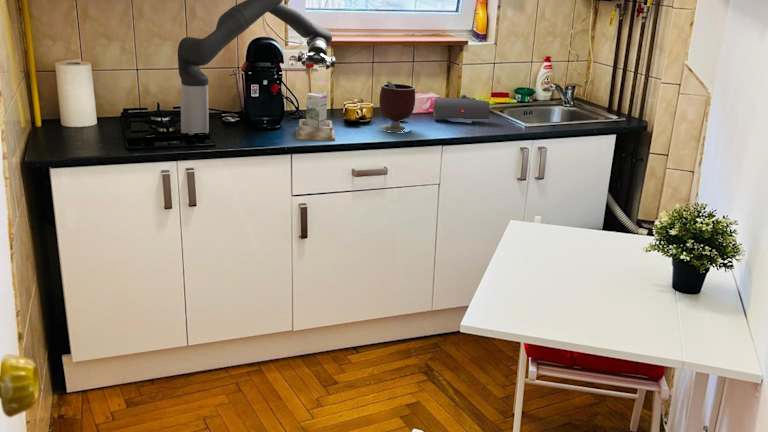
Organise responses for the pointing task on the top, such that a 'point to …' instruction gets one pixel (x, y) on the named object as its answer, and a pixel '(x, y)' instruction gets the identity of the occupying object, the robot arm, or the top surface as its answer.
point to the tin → (357, 101)
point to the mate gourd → (396, 104)
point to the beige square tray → (315, 131)
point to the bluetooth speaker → (461, 108)
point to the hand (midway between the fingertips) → (315, 65)
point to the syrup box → (316, 109)
